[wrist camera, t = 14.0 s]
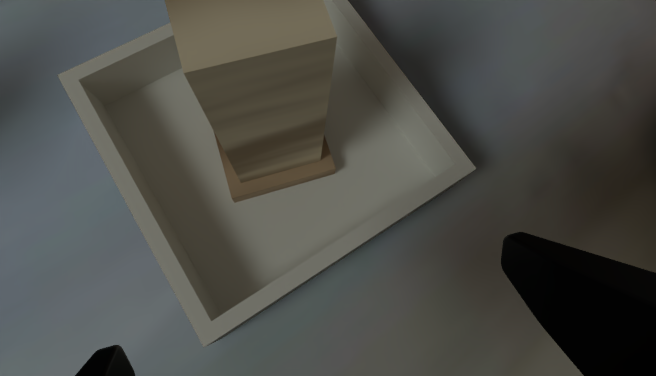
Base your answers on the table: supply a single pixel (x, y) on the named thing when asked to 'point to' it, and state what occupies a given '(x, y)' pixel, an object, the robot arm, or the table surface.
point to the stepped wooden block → (260, 86)
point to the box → (272, 208)
